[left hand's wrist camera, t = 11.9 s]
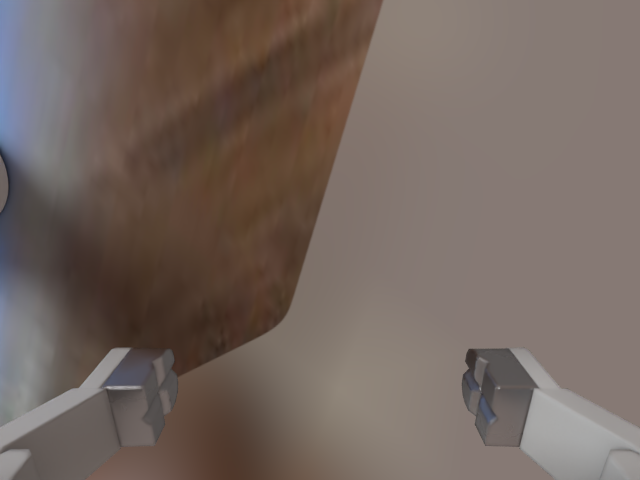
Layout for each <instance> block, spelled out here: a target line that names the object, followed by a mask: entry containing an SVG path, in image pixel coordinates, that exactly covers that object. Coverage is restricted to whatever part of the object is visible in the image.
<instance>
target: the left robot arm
mask: <svg viewBox="0 0 640 480" xmlns="http://www.w3.org/2000/svg"><path fill="white" fill-rule="evenodd" d="M7 196H8V176H7V171H6V168H5V165H4V162H3V159H2V157H1V155H0V213H1V211H2V210H3V208H4V206H5V203H6V200H7ZM174 362H175V360H174V355H173V351H172V350H171V349H170V348H114V349H112V350H111V351H110V352H109V353H108V354H107V355H106V357H105V358H104V359H103V360H102V361H101V362H100V364H99V365H98V366H97V367H96V368H95V370H94V371H93V372H92V373H91V374H90V376H89V377H88V378H87V379H86V380H85V382H84V383H83V384H82V385H81V386H80V387H79V388H73V389H71V390H69V391H67V392H65V393H63V394H61V395H60V396H58V397H56V398H54V399H52V400H50V401H48V402H46V403H45V404H43V405H41V406H39V407H37V408H35V409H33V410H31V411H30V412H28V413H26V414H24V415H22V416H20V417H18V418H17V419H15V420H13V421H11V422H9V423H7V424H5V425H3V426H2V427H0V480H85V479H86V478H88V477H89V476H90V475H91V474H92V473H93V472H94V471H96V470H97V469H98V468H99V467H100V466H101V465H102V464H104V463H105V462H106V461H107V460H108V459H109V458H110V457H112V456H113V455H114V454H115V453H116V452H117V451H118V450H120V447H128V446H155V444H156V442H157V440H158V438H159V436H160V434H161V432H162V430H163V428H164V425H165V421H164V416H165V415H166V414H168V413H169V412H170V411H172V409H173V406H174V404H175V402H176V397H177V393H178V379H177V374H176V373H175V372H174V371H173V370H172V369H171V367H172V365H173V364H174ZM465 362H466V364H467V365H468V367H469V369H468V370H467V371H466V372H465V373H464V374H463V379H462V392H463V398H464V401H465V404H466V406H467V409H468V411H470V412H471V413H472V414H474V415H475V416H476V421H475V426H476V428H477V430H478V432H479V434H480V436H481V438H482V440H483V442H484V444H485V446H512V447H520V449H521V450H522V451H523V452H524V453H525V454H526V455H527V456H529V457H530V458H531V459H532V460H533V461H534V462H536V463H537V464H538V465H539V466H540V467H541V468H542V469H544V470H545V471H546V472H547V473H548V474H549V475H550V476H551V477H553V478H554V479H555V480H640V427H638V426H636V425H634V424H633V423H631V422H629V421H627V420H625V419H623V418H621V417H620V416H618V415H616V414H614V413H612V412H610V411H608V410H606V409H605V408H603V407H601V406H599V405H597V404H595V403H593V402H592V401H590V400H588V399H586V398H584V397H582V396H580V395H579V394H577V393H575V392H573V391H571V390H569V389H567V388H560V386H559V385H558V384H557V383H556V382H555V380H554V379H553V378H552V377H551V376H550V374H549V373H548V372H547V371H546V370H545V368H544V367H543V366H542V365H541V364H540V363H539V361H538V360H537V359H536V358H535V357H534V355H533V354H532V353H531V352H530V351H529V350H528V349H526V348H524V347H522V348H505V349H469V350H468V352H467V354H466V360H465Z"/></svg>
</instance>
